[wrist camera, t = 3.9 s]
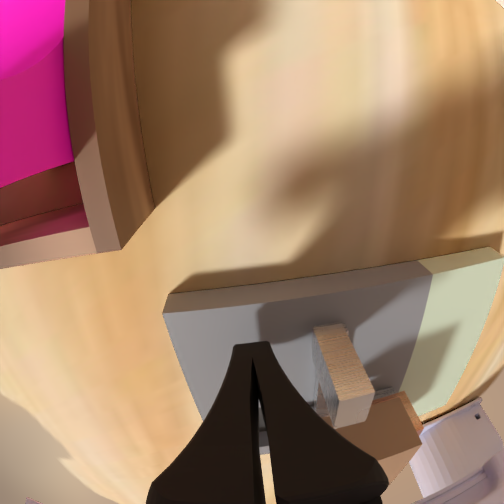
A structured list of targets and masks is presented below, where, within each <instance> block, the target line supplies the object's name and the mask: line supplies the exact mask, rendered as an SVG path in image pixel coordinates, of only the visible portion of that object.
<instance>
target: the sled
mask: <svg viewBox="0 0 504 504" xmlns="http://www.w3.org/2000/svg"><path fill="white" fill-rule="evenodd" d="M348 335H349V330H348V329H347V327H346V325H345V323H341V322H337V323H332V324H326V325H321V326H315V327H313V328H312V361H313V364H314V367H315V370H316V379H315V393H314V405H313V406H310V407H311V408H312V409H313V410H314V411H315V412H316V413H317V414H318V415H319V416H320V417H321V418H322V417H327V416H330V418H331V422H332V425H333V428H334V429H337V428H341V427H345V426H349V425H353V424H357V423H360V422H364V421H366V418H367V416H368V413H369V410H370V407H371V405H375V404H378V403H382V402H385V401H388V400H391V399H395V398H398V397H399V398H400V400H401V401H402V403H403V405H404V407H405V409H406V411H407V413H408V415H409V417H410V419H411V421H412V423H413V425H414V427H415V429H416V432H417V434H418V436H419V435H420V434H421V432H422V431H423V429H424V427H423V425H422V423H421V421H420V419H419V417H418V415H417V414H416V412H415V410H414V408H413V406H412V404H411V402H410V400H409V398H408V397H407V395H406V393H405V391H402V392H399V393H395V391H394V389H393V387H392V386H391V387H388V388H385V389H381V390H378V391H375V390H374V388H373V386H372V384H371V382H370V380H369V378H368V376H367V374H366V371H365V369H364V367H363V365H362V363H361V361H360V359H359V357H358V355H357V353H356V351H355V349H354V347H353V345H352V343H351V341H350V339H349V337H348Z"/></svg>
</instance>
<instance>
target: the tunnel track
mask: <svg viewBox="0 0 504 504" xmlns="http://www.w3.org/2000/svg"><path fill="white" fill-rule="evenodd" d="M503 265H504V256H503V255H502V254H500V253H499V252H497V251H496V250H494V249H493V248H491V247H485V248H480V249H475V250H470V251H465V252H459V253H454V254H449V255H443V256H438V257H432V258H427V259H421V260H415V261H409V262H403V263H398V264H392V265H385V266H379V267H373V268H367V269H360V270H354V271H347V272H341V273H334V274H327V275H320V276H313V277H306V278H299V279H291V280H284V281H276V282H269V283H261V284H253V285H245V286H236V287H228V288H219V289H211V290H201V291H192V292H183V293H173V294H168V297H167V300H166V303H165V306H164V310H163V313H162V314H163V317H164V320H165V323H166V326H167V329H168V332H169V335H170V338H171V341H172V344H173V347H174V350H175V352H176V355H177V358H178V360H179V363H180V366H181V368H182V371H183V374H184V376H185V379H186V381H187V384H188V386H189V389H190V391H191V394H192V396H193V399H194V401H195V403H196V406H197V408H198V411H199V413H200V415H201V417H202V420H203V421H204V419H205V418H206V416H207V414H208V413H209V411H210V409H211V407H212V405H213V403H214V401H215V399H216V397H217V394H218V392H219V390H220V388H221V386H222V383H223V380H224V378H225V375H226V372H227V369H228V366H229V363H230V359H231V355H232V350H233V346H234V345H235V344H243V343H252V342H260V341H268V342H270V345H271V348H272V350H273V353H274V355H275V357H276V359H277V361H278V362H279V364H280V366H281V368H282V369H283V371H284V372H285V374H286V375H287V377H288V379H289V380H290V382H291V383H292V384H293V386H294V387H295V388H296V390H297V391H298V392H299V394H300V395H301V396H302V397H303V399H304V400H305V401H306V402H307V403H308V404H309V405H310V406H313V405H314V393H315V379H316V370H315V367H314V364H313V361H312V328H313V327H315V326H321V325H326V324H332V323H337V322H341V323H345V325H346V327H347V329H348V330H349V335H348V337H349V339H350V341H351V343H352V345H353V347H354V349H355V351H356V353H357V355H358V357H359V359H360V361H361V363H362V365H363V367H364V369H365V371H366V374H367V376H368V378H369V380H370V382H371V384H372V386H373V388H374V390H375V391H378V390H381V389H385V388H388V387H391V386H392V387H393V389H394V391H395V393H399V392H402V391H405V393H406V395H407V397H408V398H409V400H410V402H411V404H412V406H413V408H414V410H415V412H416V414H417V415H418V416H420V415H423V414H425V413H428V412H430V411H432V410H435V409H437V408H439V407H442V406H444V405H446V403H447V402H448V400H449V398H450V396H451V395H452V393H453V391H454V389H455V387H456V385H457V384H458V382H459V380H460V378H461V376H462V374H463V372H464V370H465V368H466V366H467V364H468V362H469V360H470V357H471V355H472V353H473V351H474V349H475V346H476V344H477V342H478V339H479V337H480V334H481V332H482V330H483V327H484V324H485V322H486V319H487V316H488V314H489V311H490V308H491V305H492V302H493V299H494V296H495V293H496V290H497V287H498V283H499V280H500V276H501V273H502V269H503ZM322 419H323V420H324V421H325V422H326V423H328V424H329V425H330V426H331V427H332V428H333V425H332V422H331V418H330V416H327V417H322ZM333 429H334V428H333ZM335 430H336V431H337V432H338V433H339V434H341V435H342V436H343V437H344V438H346V439H347V440H348V441H350V442H351V443H352V444H354V445H355V446H357V447H358V448H360V449H361V450H363V451H364V452H366V453H368V454H369V455H371V456H373V457H374V458H376V460H377V461H378V462H379V464H380V465H381V467H382V468H383V470H384V472H385V473H386V475H387V477H388V480H389V483H390V484H391V483H392V482H393V480H394V479H395V478H396V477H397V476H398V474H399V473H400V472H401V471H402V470H403V469H404V467H405V466H406V465H407V464H408V462H409V461H410V460H411V459H412V457H413V456H414V455H415V453H416V452H417V451H418V449H419V448H420V447H421V445H422V442H421V440H420V438H419V436H418V434H417V432H416V429H415V427H414V425H413V423H412V421H411V419H410V417H409V415H408V413H407V411H406V409H405V407H404V405H403V403H402V401H401V400H400V398H399V397H398V398H395V399H391V400H388V401H385V402H382V403H378V404H375V405H371V407H370V410H369V413H368V416H367V418H366V421H364V422H360V423H357V424H353V425H349V426H345V427H341V428H337V429H335ZM259 450H260V455H261V454H269V453H270V450H269V442H268V436H267V432H266V428H265V424H264V419H263V415H262V410H261V406H260V402H259ZM390 484H389V485H390Z"/></svg>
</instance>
